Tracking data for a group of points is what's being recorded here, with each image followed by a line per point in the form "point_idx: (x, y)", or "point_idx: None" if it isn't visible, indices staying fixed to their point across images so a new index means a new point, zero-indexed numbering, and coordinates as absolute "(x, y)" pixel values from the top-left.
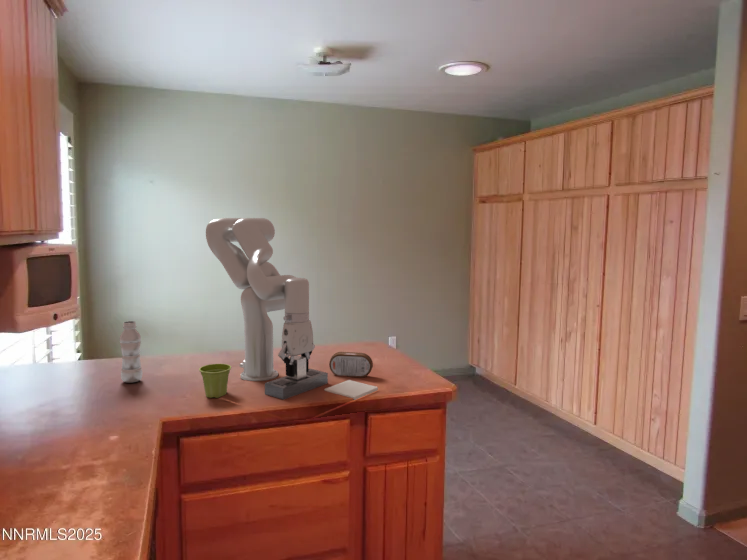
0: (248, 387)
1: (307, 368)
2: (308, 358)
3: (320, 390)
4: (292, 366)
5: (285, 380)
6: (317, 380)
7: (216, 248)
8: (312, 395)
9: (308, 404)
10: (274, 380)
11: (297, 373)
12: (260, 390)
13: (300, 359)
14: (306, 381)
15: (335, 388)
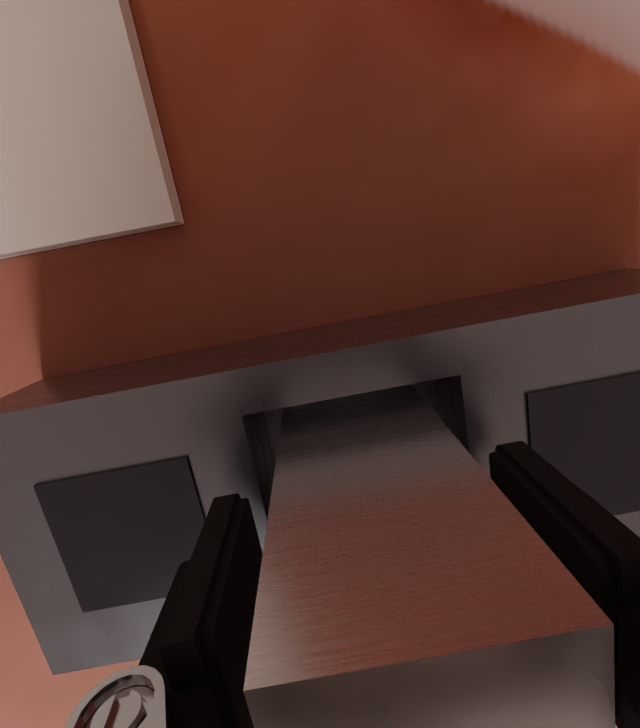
0: None
1: (225, 522)
2: (129, 695)
3: (190, 291)
4: (625, 539)
5: None
6: (157, 373)
7: None
8: (335, 222)
9: (529, 20)
10: None
11: (459, 450)
12: None
13: (479, 640)
14: (341, 345)
15: (65, 147)
